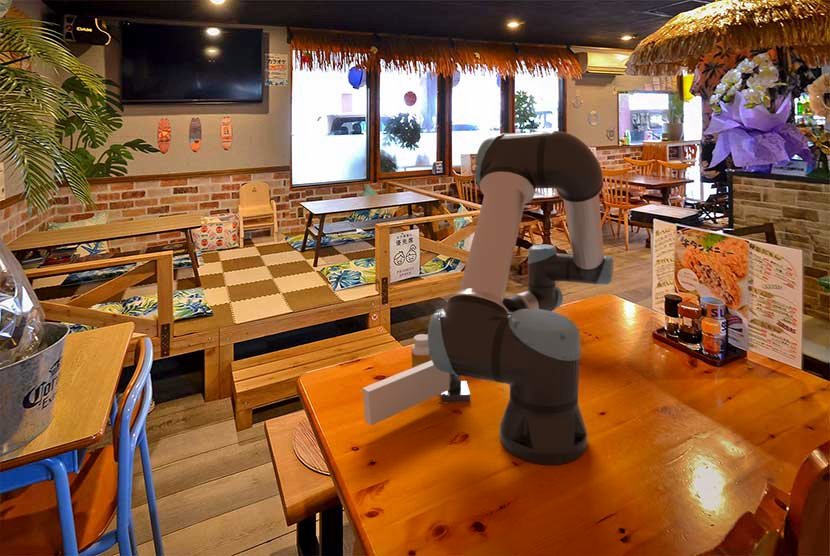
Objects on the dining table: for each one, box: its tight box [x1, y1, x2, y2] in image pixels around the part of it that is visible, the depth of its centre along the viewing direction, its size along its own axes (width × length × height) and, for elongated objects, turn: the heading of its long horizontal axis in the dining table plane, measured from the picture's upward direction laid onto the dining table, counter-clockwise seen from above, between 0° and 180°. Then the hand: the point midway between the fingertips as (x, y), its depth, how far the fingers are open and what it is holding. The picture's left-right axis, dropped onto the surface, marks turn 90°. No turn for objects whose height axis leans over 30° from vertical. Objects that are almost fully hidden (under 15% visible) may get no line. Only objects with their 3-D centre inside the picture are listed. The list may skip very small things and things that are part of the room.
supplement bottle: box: [410, 333, 431, 368], centre depth 115 cm, size 5×5×10 cm
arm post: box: [439, 373, 471, 404], centre depth 105 cm, size 6×6×12 cm
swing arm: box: [361, 360, 450, 427], centre depth 98 cm, size 20×2×7 cm, turn 128°
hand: (451, 331), depth 121 cm, fingers closed
